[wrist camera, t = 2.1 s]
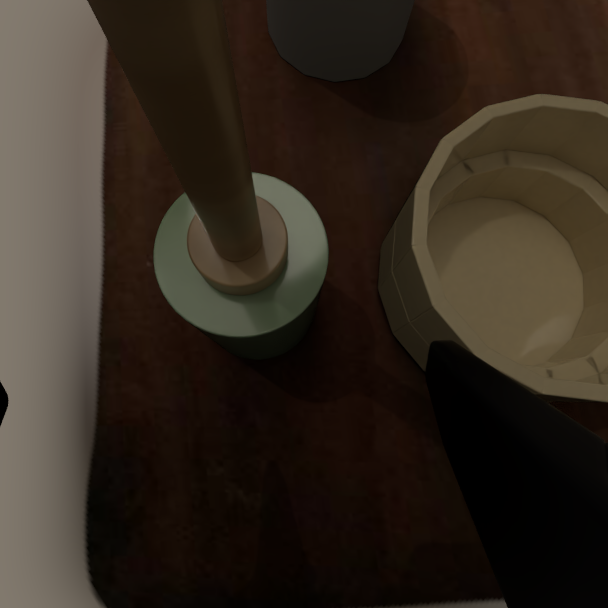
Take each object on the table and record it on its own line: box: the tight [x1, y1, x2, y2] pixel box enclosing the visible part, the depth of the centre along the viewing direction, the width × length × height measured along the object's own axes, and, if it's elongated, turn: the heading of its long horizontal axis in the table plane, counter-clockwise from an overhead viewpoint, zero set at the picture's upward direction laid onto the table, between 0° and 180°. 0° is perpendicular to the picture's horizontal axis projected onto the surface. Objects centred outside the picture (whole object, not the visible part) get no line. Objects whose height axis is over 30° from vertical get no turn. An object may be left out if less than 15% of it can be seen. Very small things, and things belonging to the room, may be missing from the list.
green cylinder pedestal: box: [154, 172, 329, 360], centre depth 19 cm, size 6×6×8 cm
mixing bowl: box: [378, 94, 608, 402], centre depth 20 cm, size 12×12×7 cm
